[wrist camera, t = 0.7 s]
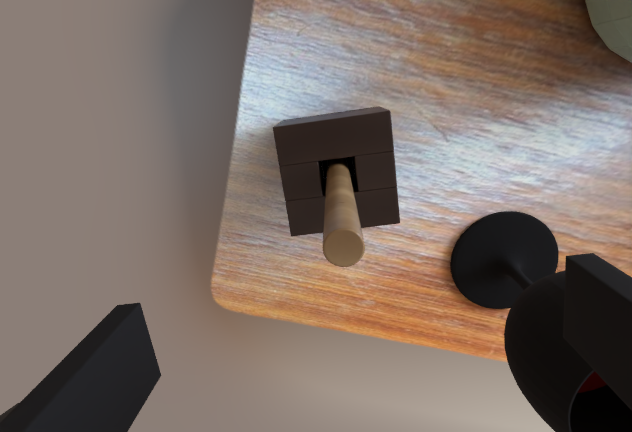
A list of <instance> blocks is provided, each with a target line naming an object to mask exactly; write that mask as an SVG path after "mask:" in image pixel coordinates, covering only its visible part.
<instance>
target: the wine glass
mask: <svg viewBox="0 0 632 432" xmlns="http://www.w3.org/2000/svg"><path fill="white" fill-rule="evenodd" d="M557 264H558V247H557V243H556V240H555V237H554V236H553V234H552V232H551V231H550V230H549V228H548V227H547V226H546V225H545V224H544V223H542V222H541V221H540V220H538V219H536V218H535V217H533V216H531V215H528V214H525V213H520V212H498V213H494V214H491V215H488V216H486V217H483V218H481V219H480V220H478V221H476V222H475V223H473V224H472V225H471V226H470V227H468V228H467V229H466V230H465V231H464V233H463V234H462V235H461V236H460V238H459V239H458V241H457V242H456V244H455V247H454V249H453V252H452V256H451V274H452V277H453V280H454V282H455V285H456V286H457V288H458V289H459V291H460V292H461V293H462V294H463V295H464V296H465V297H466V298H467V299H469V300H470V301H471V302H473V303H475V304H477V305H480V306H483V307H486V308H492V309H505V308H511V309H510V311H509V314H508V317H507V320H506V326H505V333H504V337H505V351H506V356H507V360H508V363H509V366H510V369H511V372H512V374H513V376H514V378H515V380H516V382H517V385H518V386H519V388H520V390H521V391H522V393H523V394H524V396H525V397H526V399H527V400H528V401H529V403H530V404H531V405H532V407H533V408H534V409H535V411H536V412H537V413H538V414H539V415H540V416H541V418H542V419H543V420H544V421H545V422H546V423H547V424H548V425H549V426H550V427H551V428H552V429H553V430H554V431H555V432H632V410H631V409H630V408H629V407H628V406H627V405H626V404H625V403H624V402H623V401H622V400H621V399H620V398H619V397H618V395H617V394H616V393H615V392H614V391H613V390H612V389H611V388H610V387H609V386H608V385H607V384H606V383H605V382H604V380H603V379H602V378H601V377H600V376H599V375H598V374H597V373H596V372H595V371H594V370H593V369H592V368H591V366H590V365H589V364H588V363H587V362H586V361H585V360H584V359H583V358H582V357H581V356H580V355H579V354H578V353H577V351H576V350H575V349H574V348H573V347H572V346H571V345H570V344H569V343H568V342H567V341H566V340H565V339H564V338H563V324H564V297H565V271H562V272H558V273H555V271H556V268H557Z"/></svg>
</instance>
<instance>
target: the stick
mask: <svg viewBox="0 0 632 432" xmlns="http://www.w3.org/2000/svg"><path fill="white" fill-rule="evenodd" d="M364 250H365V245H364V240H363V235H362V230H361V225H360V221H359V216H358V211H357V206H356V201H355V197H354V192H353V187H352V182H351V178H350V173H349V168H348V163H347V159H346V157H345V158H337V159H330V160H328V162H327V180H326V197H325V215H324V233H323V253H324V255H325V257H326V259H327V260H328V261H329V262H330V263H332V264H334V265H336V266H339V267H348V266H351V265H354V264H355V263H357V262H358V261H359V260H360V259H361V258H362V256H363V254H364Z"/></svg>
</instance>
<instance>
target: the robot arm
mask: <svg viewBox="0 0 632 432" xmlns="http://www.w3.org/2000/svg"><path fill="white" fill-rule="evenodd" d="M563 338H564V339H565V340H566V341H567V342H568V343H569V344H570V345H571V346H572V347H573V348H574V349H575V350H576V351H577V353H578V354H579V355H580V356H581V357H582V358H583V359H584V360H585V361H586V362H587V363H588V364H589V365H590V366H591V368H592V369H593V370H594V371H595V372H596V373H597V374H598V375H599V376H600V377H601V378H602V379H603V380H604V382H605V383H606V384H607V385H608V386H609V387H610V388H611V389H612V390H613V391H614V392H615V393H616V394H617V395H618V397H619V398H620V399H621V400H622V401H623V402H624V403H625V404H626V405H627V406H628V407H629V408H630V409H631V410H632V277H630V276H629V275H627V274H625V273H624V272H622V271H621V270H619V269H617V268H616V267H614V266H613V265H611V264H609V263H608V262H606V261H605V260H603V259H601V258H600V257H598V256H597V255H595V254H594V253H590V254H581V255H572V256H566V269H565V297H564V324H563ZM160 376H161V373H160V370H159V366H158V363H157V359H156V356H155V353H154V349H153V346H152V342H151V339H150V335H149V332H148V328H147V325H146V322H145V318H144V315H143V311H142V308H141V304H140V303H134V304H124V305H117V306H116V307H115V308H114V309H113V310H112V311H111V312H110V313H109V314H108V315H107V316H106V317H105V318H104V319H103V320H102V321H101V322H100V323H99V324H98V325H97V326H96V327H95V328H94V329H93V330H92V331H91V332H90V333H89V334H88V335H87V336H86V337H85V338H84V339H83V340H82V341H81V342H80V343H79V344H78V345H77V346H76V347H75V348H74V349H73V350H72V351H71V352H70V353H69V354H68V355H67V356H66V357H65V358H64V359H63V360H62V361H61V362H60V363H59V364H58V365H57V366H56V367H55V368H54V369H53V370H52V371H51V372H50V373H49V374H48V375H47V376H46V377H45V378H44V379H43V380H42V381H41V382H40V383H39V384H38V385H37V386H36V388H34V389H33V390H32V391H31V392H30V394H28V395H27V396H26V397H25V398H24V399H23V400H22V401H21V402H20V403H18V404H16V405H15V406H13V407H12V408H10V409H9V410H8V411H6V412H5V413H3V414H2V415H0V432H127V431H128V430H129V428H130V426H131V425H132V423H133V421H134V420H135V418H136V416H137V414H138V413H139V411H140V410H141V408H142V406H143V405H144V403H145V401H146V400H147V398H148V396H149V395H150V393H151V391H152V390H153V388H154V386H155V385H156V383H157V381H158V380H159V378H160Z"/></svg>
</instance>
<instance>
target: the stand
mask: <svg viewBox="0 0 632 432" xmlns="http://www.w3.org/2000/svg"><path fill="white" fill-rule="evenodd" d="M273 131H274V137H275V143H276V149H277V155H278V161H279V166H280V173H281V178H282V184H283V190H284V196H285V201H286V208H287V214H288V220H289V226H290V232H291V236H298V235H306V234H315V233H323V232H324V215H325V197H326V180H327V178H324V172H323V165H322V161H323V160H330V159H337V158H345V157H352V162H353V171H354V174H353V175H350V178H351V182H352V187H353V192H354V197H355V201H356V206H357V211H358V216H359V221H360V225H361V228H364V227H373V226H381V225H389V224H398V223H400V217H399V205H398V194H397V182H396V170H395V158H394V147H393V135H392V123H391V112H390V111H389V110H387V109H384V108H382V107H373V108H366V109H359V110H352V111H345V112H338V113H331V114H324V115H317V116H310V117H303V118H296V119H289V120H283V121H282V122H280V123H279V124H277V125H276V126H274V127H273Z"/></svg>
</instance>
